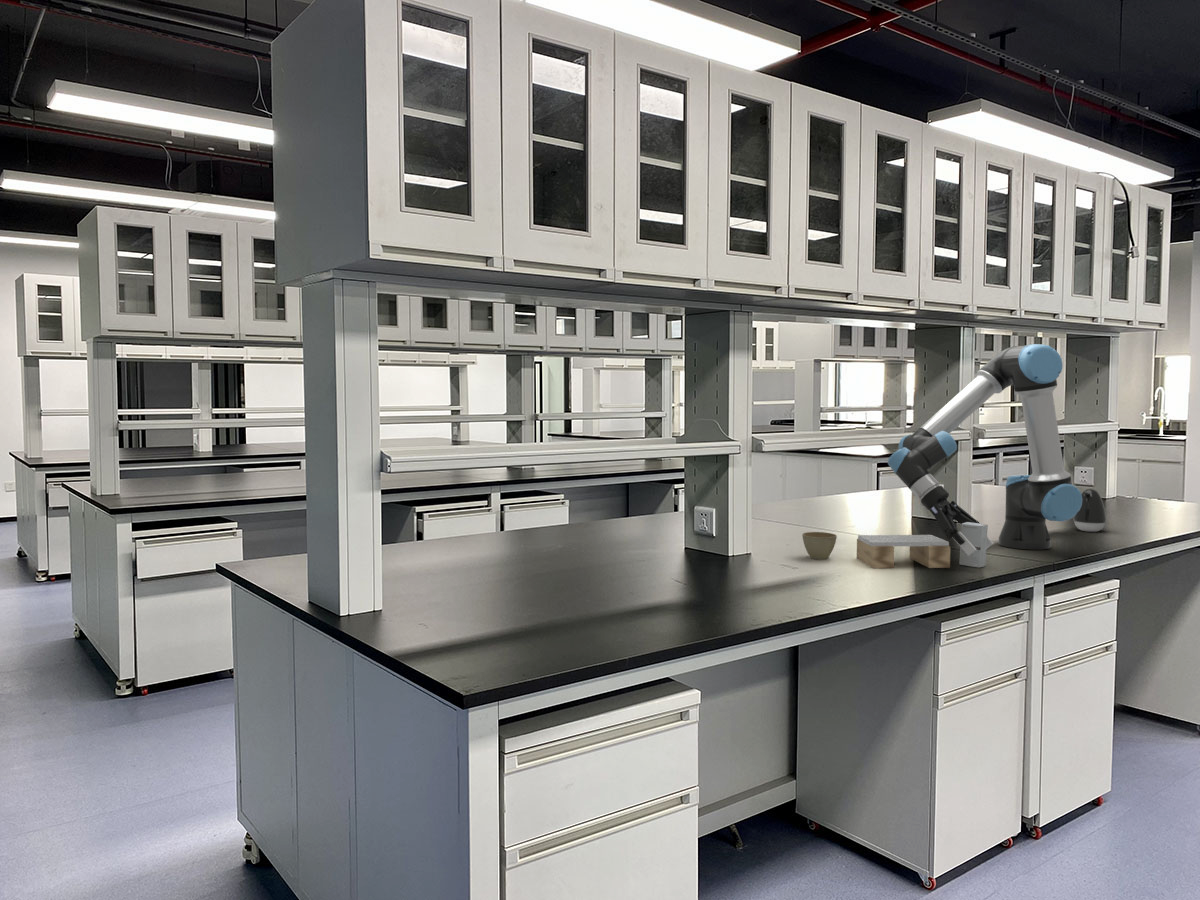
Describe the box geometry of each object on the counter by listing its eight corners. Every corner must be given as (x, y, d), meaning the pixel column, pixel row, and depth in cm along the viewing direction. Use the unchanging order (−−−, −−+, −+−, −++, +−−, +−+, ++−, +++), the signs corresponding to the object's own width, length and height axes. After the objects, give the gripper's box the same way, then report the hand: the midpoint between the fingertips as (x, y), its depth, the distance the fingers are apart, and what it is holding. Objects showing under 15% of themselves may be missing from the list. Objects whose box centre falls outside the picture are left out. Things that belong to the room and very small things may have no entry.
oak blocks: (929, 558, 249) (929, 538, 248) (949, 567, 235) (950, 546, 234) (856, 558, 248) (856, 538, 248) (872, 568, 234) (873, 547, 234)
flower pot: (798, 559, 247) (799, 535, 246) (805, 553, 256) (806, 530, 255) (833, 562, 242) (833, 538, 242) (839, 556, 251) (839, 533, 251)
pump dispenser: (1068, 530, 298) (1069, 488, 297) (1078, 527, 305) (1079, 486, 304) (1100, 534, 291) (1101, 491, 290) (1109, 530, 298) (1111, 488, 297)
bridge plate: (931, 538, 247) (931, 534, 247) (948, 546, 235) (948, 541, 235) (858, 539, 247) (858, 535, 247) (871, 546, 235) (872, 542, 235)
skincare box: (958, 564, 239) (959, 523, 238) (965, 562, 242) (966, 521, 241) (980, 568, 234) (981, 525, 233) (987, 566, 237) (988, 524, 236)
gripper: (937, 497, 256) (987, 551, 247) (903, 504, 239) (954, 563, 229) (955, 481, 252) (1006, 535, 243) (921, 488, 234) (974, 547, 225)
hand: (981, 549), depth 236 cm, fingers open, 13 cm apart
